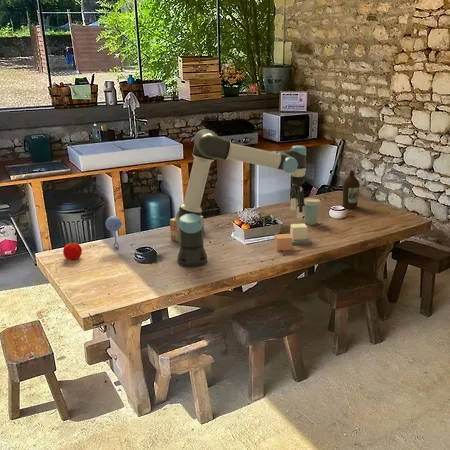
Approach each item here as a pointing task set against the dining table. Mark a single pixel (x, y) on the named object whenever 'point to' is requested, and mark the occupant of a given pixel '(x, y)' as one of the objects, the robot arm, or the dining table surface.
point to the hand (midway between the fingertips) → (296, 213)
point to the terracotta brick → (283, 242)
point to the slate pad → (302, 241)
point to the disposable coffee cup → (311, 210)
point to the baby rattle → (114, 225)
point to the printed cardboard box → (175, 231)
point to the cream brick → (298, 231)
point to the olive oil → (350, 191)
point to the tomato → (72, 251)
